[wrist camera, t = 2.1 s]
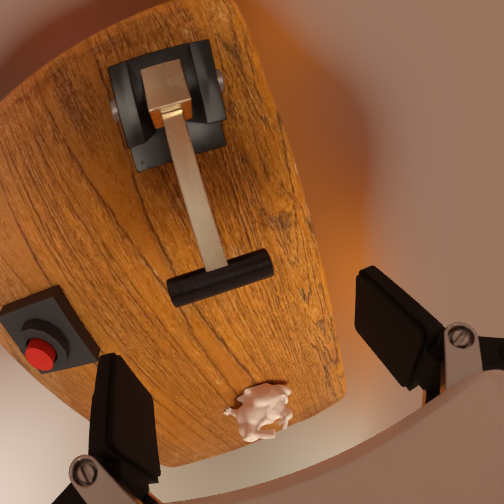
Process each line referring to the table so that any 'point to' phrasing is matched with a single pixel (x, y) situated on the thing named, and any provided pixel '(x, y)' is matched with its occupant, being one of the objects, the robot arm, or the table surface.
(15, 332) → the control block
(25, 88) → the table surface
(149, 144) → the switch bracket
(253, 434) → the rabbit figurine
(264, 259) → the lever
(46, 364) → the button
